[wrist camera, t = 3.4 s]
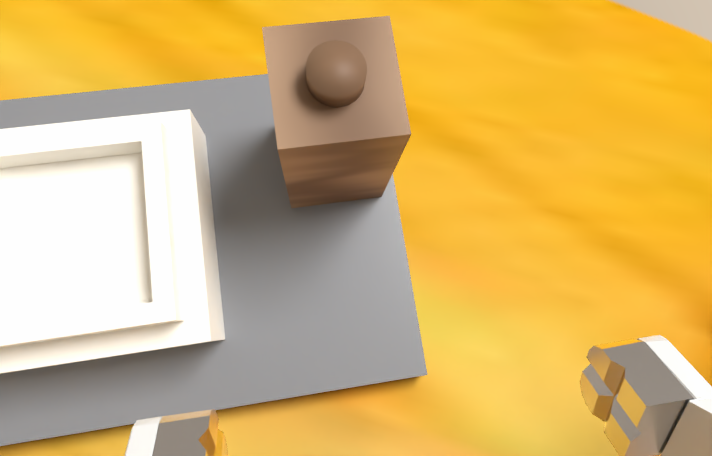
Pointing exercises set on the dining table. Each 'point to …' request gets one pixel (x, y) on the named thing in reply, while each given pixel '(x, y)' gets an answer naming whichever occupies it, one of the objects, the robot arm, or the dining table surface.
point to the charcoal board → (239, 282)
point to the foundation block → (106, 240)
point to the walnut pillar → (336, 108)
